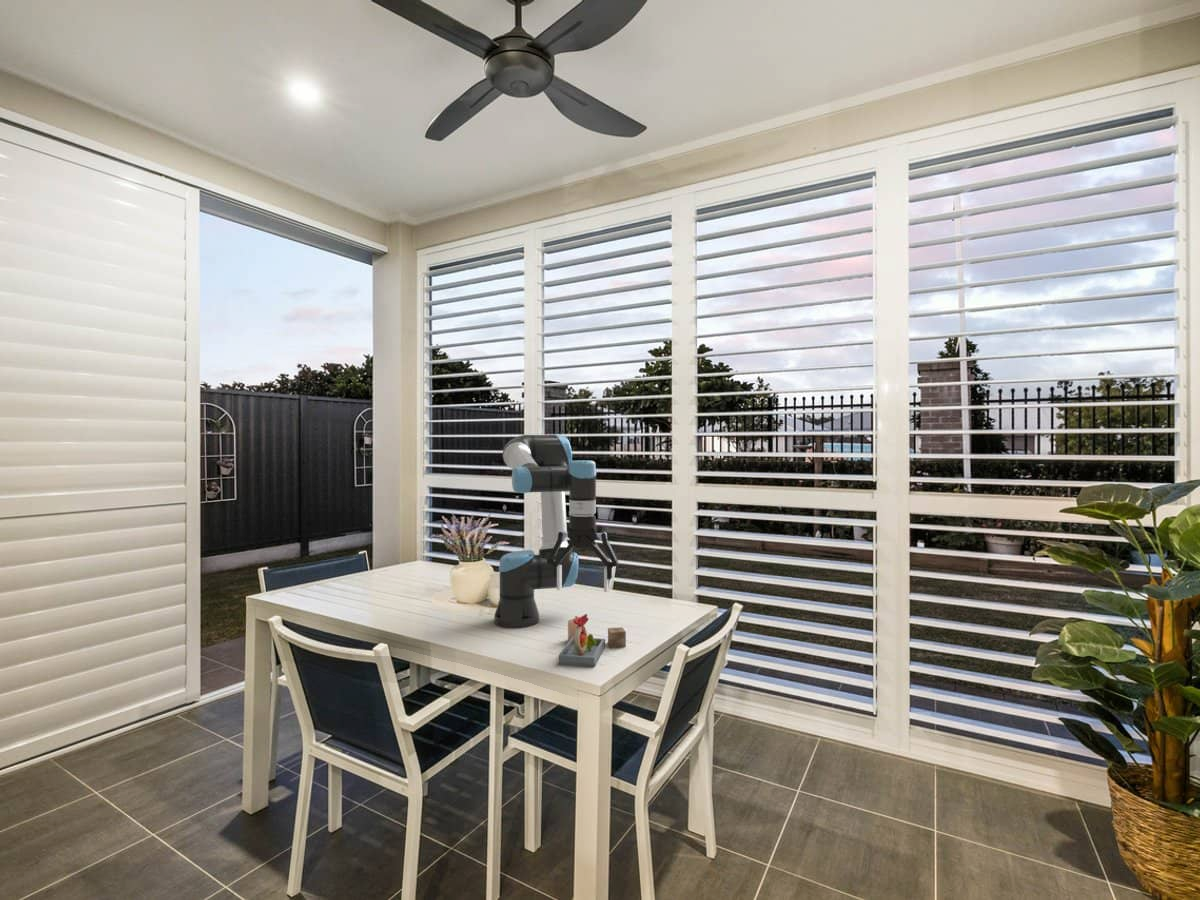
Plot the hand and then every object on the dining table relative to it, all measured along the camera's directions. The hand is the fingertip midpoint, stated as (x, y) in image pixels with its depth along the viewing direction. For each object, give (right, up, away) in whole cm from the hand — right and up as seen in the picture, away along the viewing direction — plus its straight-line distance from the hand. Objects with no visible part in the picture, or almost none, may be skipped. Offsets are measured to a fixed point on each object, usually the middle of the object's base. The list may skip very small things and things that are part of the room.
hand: (582, 589), depth 168 cm
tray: (0, -19, 0) cm, 19 cm away
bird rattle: (0, -18, 0) cm, 18 cm away
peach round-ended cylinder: (-3, -19, +13) cm, 23 cm away
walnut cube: (+10, -19, +9) cm, 23 cm away
